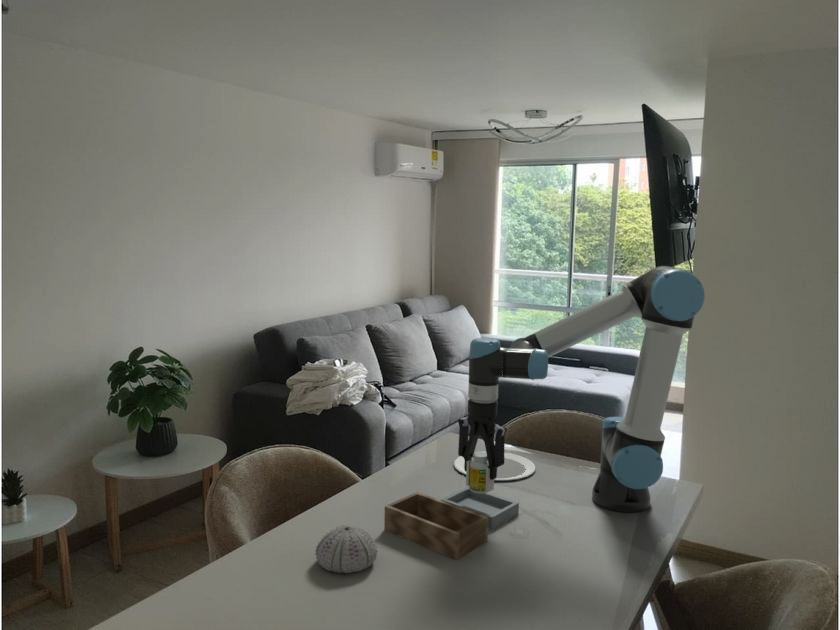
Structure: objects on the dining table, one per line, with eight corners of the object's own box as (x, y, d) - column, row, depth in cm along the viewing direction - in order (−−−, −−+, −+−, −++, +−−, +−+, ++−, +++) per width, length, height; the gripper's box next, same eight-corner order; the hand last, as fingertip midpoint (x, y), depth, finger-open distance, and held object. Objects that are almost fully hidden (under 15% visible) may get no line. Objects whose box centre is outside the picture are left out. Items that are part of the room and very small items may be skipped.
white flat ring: (548, 464, 211) (548, 460, 211) (514, 490, 190) (514, 486, 190) (477, 449, 224) (477, 445, 224) (438, 471, 204) (438, 467, 203)
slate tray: (518, 513, 174) (518, 502, 173) (491, 529, 165) (492, 517, 164) (468, 496, 184) (468, 486, 184) (440, 510, 175) (441, 499, 175)
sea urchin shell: (304, 559, 149) (304, 525, 148) (357, 543, 157) (357, 510, 156) (335, 585, 138) (335, 548, 137) (389, 566, 146) (390, 531, 145)
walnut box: (487, 541, 158) (488, 517, 158) (456, 560, 149) (456, 534, 149) (416, 514, 173) (417, 491, 172) (384, 529, 164) (384, 506, 163)
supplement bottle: (481, 484, 177) (482, 449, 176) (494, 491, 173) (495, 455, 172) (465, 488, 174) (466, 452, 173) (477, 495, 170) (479, 459, 169)
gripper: (445, 395, 174) (442, 481, 177) (505, 409, 162) (501, 501, 165) (462, 390, 179) (460, 474, 182) (522, 403, 167) (518, 493, 170)
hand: (479, 487), depth 174 cm, fingers closed on supplement bottle, 5 cm apart
